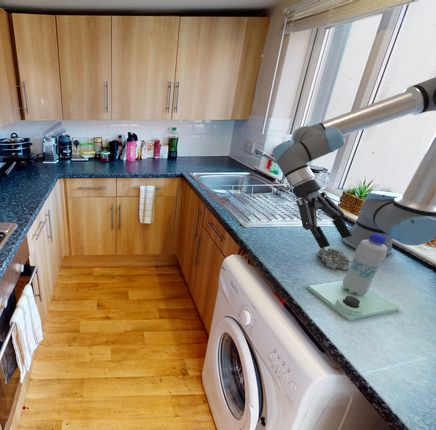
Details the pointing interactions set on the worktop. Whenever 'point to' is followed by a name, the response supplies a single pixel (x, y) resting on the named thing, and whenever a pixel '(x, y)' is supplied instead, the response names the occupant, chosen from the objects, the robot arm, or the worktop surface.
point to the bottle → (365, 264)
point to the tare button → (351, 301)
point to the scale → (337, 294)
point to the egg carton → (334, 258)
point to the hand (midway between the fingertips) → (336, 242)
